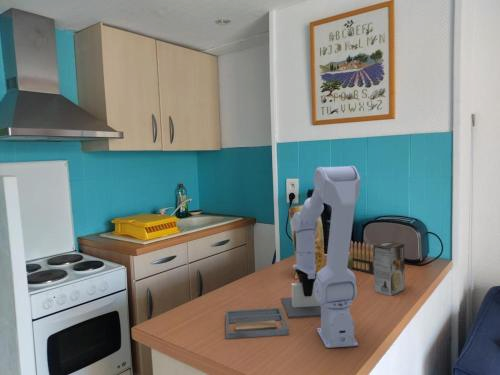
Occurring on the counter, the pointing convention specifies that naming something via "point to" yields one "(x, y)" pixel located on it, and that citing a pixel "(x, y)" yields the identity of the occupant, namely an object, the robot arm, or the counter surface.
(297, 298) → the gray rectangular block
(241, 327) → the offcut stack
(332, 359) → the counter surface
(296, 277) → the pancake mix bag
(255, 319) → the rack
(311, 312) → the mat
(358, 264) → the ammunition clip
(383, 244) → the coffee box
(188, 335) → the counter surface
